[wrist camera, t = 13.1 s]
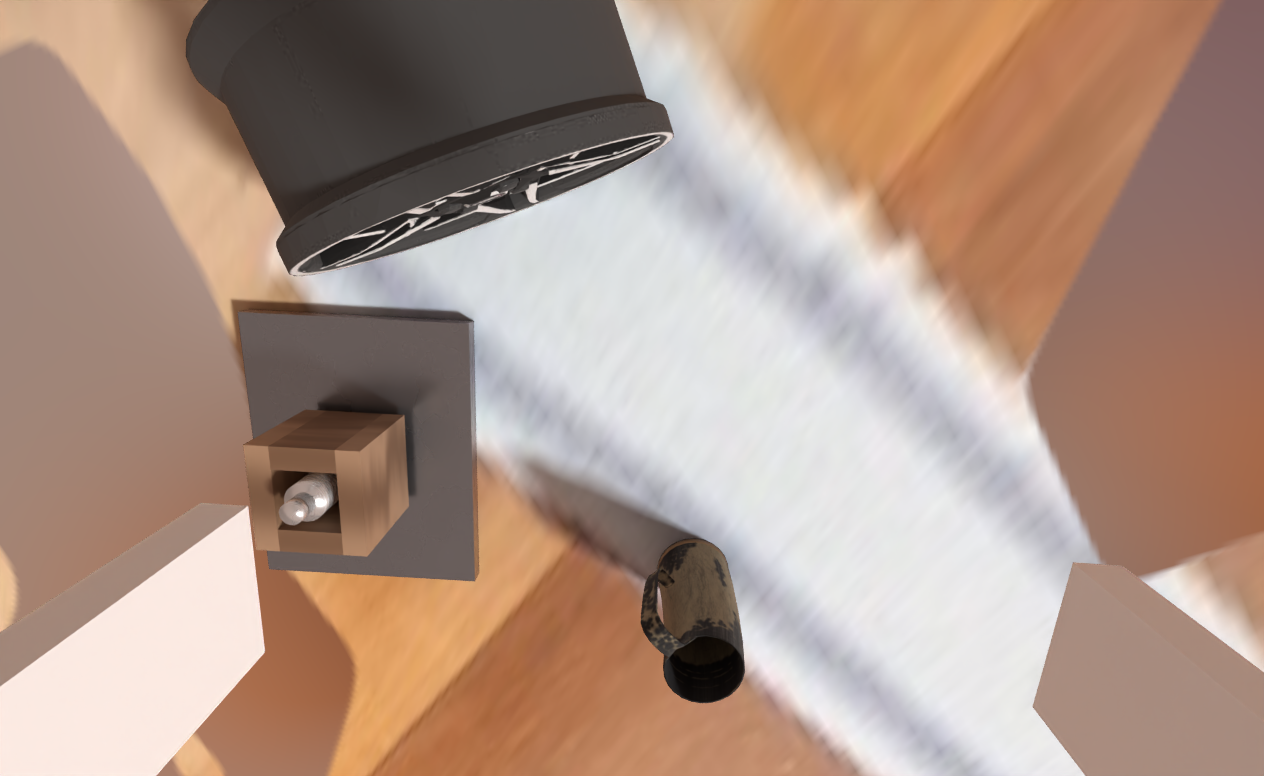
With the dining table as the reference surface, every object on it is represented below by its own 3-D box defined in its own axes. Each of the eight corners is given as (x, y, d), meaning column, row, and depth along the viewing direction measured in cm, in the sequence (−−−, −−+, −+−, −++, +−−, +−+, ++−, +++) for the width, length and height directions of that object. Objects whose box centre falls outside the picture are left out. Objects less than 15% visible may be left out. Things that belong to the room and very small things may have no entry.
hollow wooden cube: (305, 409, 44) (242, 444, 37) (404, 415, 44) (359, 451, 37) (314, 500, 46) (256, 549, 39) (408, 506, 46) (367, 556, 39)
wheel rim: (393, 260, 43) (184, 298, 24) (332, 125, 41) (49, 48, 22) (669, 153, 41) (684, 101, 22) (620, 4, 39) (589, -202, 19)
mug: (744, 574, 49) (773, 686, 37) (691, 615, 50) (703, 736, 38) (675, 505, 48) (683, 599, 36) (622, 549, 49) (613, 653, 37)
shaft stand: (248, 309, 44) (126, 338, 34) (473, 321, 44) (419, 353, 34) (278, 560, 50) (180, 651, 40) (479, 572, 50) (433, 667, 39)
